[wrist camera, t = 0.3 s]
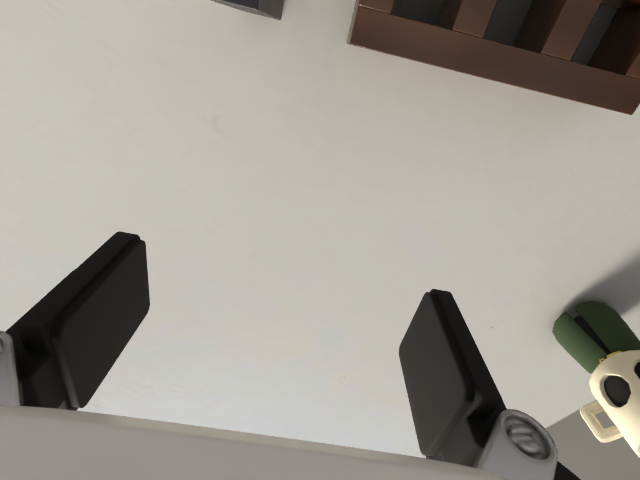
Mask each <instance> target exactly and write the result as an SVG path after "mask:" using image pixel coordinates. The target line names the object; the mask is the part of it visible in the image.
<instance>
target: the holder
mask: <svg viewBox="0 0 640 480" xmlns="http://www.w3.org/2000/svg"><path fill="white" fill-rule="evenodd" d="M497 1H498V0H445V1H444V4H443V7H442V10H441V13H440V16H439V19H438V22H437V25H436V26H434V25H430V24H427V23H423V22H419V21H415V20H411V19H408V18H404V17H400V16H396V15H392V14H391V12H392V8H393V4H394V0H356V3H355V8H354V12H353V17H352V21H351V26H350V30H349V35H348V39H347V44H350V45H354V46H358V47H362V48H366V49H370V50H374V51H378V52H382V53H386V54H390V55H394V56H398V57H402V58H406V59H410V60H414V61H418V62H422V63H426V64H430V65H434V66H438V67H442V68H446V69H450V70H454V71H458V72H462V73H466V74H470V75H474V76H478V77H482V78H486V79H490V80H494V81H498V82H502V83H506V84H510V85H513V86H517V87H521V88H525V89H529V90H533V91H537V92H541V93H545V94H549V95H553V96H557V97H561V98H565V99H569V100H573V101H577V102H581V103H585V104H589V105H593V106H597V107H601V108H605V109H609V110H613V111H617V112H621V113H625V114H629V115H632V114H633V113H634V111H635V110H636V108H637V107H638V105H639V104H640V0H534V1H533V3H532V6H531V8H530V10H529V12H528V15H527V17H526V19H525V21H524V24H523V26H522V28H521V30H520V33H519V35H518V37H517V39H516V42H515V44H514V46H510V45H507V44H503V43H499V42H495V41H491V40H488V39H484V38H482V37H483V36H484V33H485V31H486V28H487V26H488V23H489V21H490V18H491V16H492V13H493V11H494V8H495V6H496V3H497ZM600 4H603V5H607V6H610V7H614V8H617V9H619V10H618V11H617V13H616V15H615V17H614V19H613V20H612V22H611V24H610V26H609V28H608V29H607V31H606V33H605V35H604V37H603V38H602V40H601V42H600V44H599V46H598V47H597V49H596V51H595V53H594V55H593V56H592V58H591V60H590V62H589V63H588V65H583V64H579V63H575V62H571V61H570V60H571V58H572V56H573V55H574V53H575V51H576V49H577V47H578V45H579V43H580V41H581V39H582V38H583V36H584V34H585V32H586V30H587V28H588V26H589V24H590V22H591V21H592V19H593V17H594V15H595V13H596V11H597V9H598V7H599V6H600Z"/></svg>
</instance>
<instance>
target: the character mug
mask: <svg viewBox="0 0 640 480" xmlns="http://www.w3.org/2000/svg"><path fill="white" fill-rule="evenodd" d="M575 309H576V310H577V311H578V312H579V313H580V315H578V316H576V317H575V318H572V317H571V316H570V315H569V314H568V313H567V312H564V313H563V314H562V315H561V316H560V317H559V318H558V319H557V320H556V321H555V324H554V328H553V333H554V335H555V337H556V339H557V341H558V342H559V343H560V344H561V345H562V346H563V347H564V349H565V350H566V351H567V352H568V353H569V354H570V355H571V356H572V357H573V358H574V359H575V360H576V361H577V362H578V363H579V364H580V365H581V366H582V367H583V368H584V369H586V370H587V371H588V372H589V373H591V374H592V375H591V378H590V381H589V383H590V388H591V391H592V393H593V395H594V397H595V399H596V401H594V402H591V403H589V404H587V405H584V406H583V407H582V408H581V409H580V413H581V416H582V417H583V419H584V420H585V422H586V423H587V425H588V426H589V428H590V429H591V431H592V432H593V434H594V435H595V437H596V438H597V439H598V440H599V441H600V442H610V441H613V440H615V439H618V438H621V437H624V438H625V439H626V440H627V442H628V443H629V445H630V446H631V447H632V449H633V450H634V451H635V453H636V454H637V455H638V456H639V457H640V341H639V339H638V338H637V337H636V336H635V334H634V333H633V332H632V330H631V329H630V328H629V326H628V325H627V324H626V323H625V321H624V320H623V319H622V318H621V317H620V315H619V314H618V313H617V312H616V311H615V310H614V309H612V308H611V307H609V306H608V305H606V304H605V303H595V302H590V303H585V304H581V305H577V306H575ZM602 411H605V412H606V413H607V415H608V416H609V418H610V419H611V420H612V422H613V423H614V424H615V425H614V426H611V427H609V428H606V429H604V428H603V427H602V425H601V424H600V423H599V421H598V420H597V419H596V417H595V414H598V413H600V412H602Z"/></svg>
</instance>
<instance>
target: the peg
mask: <svg viewBox="0 0 640 480" xmlns="http://www.w3.org/2000/svg"><path fill="white" fill-rule="evenodd" d="M212 1H215V2H218V3H221V4H224V5H227V6H230V7H233V8H236V9H239V10H243V11H246V12H250V13H254V14H258V15H262V16H266V17H270V18H274V19H278V20H281V16H282V9H283V1H284V0H212Z"/></svg>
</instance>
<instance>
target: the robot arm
mask: <svg viewBox="0 0 640 480" xmlns="http://www.w3.org/2000/svg"><path fill="white" fill-rule="evenodd" d="M149 306H150V299H149V286H148V272H147V258H146V245H145V242H144V241H143V240H140V237H139V236H138V235H136V234H130V233H125V232H117V233H115V234H114V235H113V236H112V237H111V238H110V239H109V240H108V241H106V242H105V243H104V244H103V245H102V246H101V247H100V248H99V249H98V250H97V251H95V252H94V253H93V254H92V255H91V256H90V257H89V258H88V259H87V260H86V261H84V262H83V263H82V264H81V265H80V266H79V267H78V268H77V269H75V270H74V271H72V272H71V273H70V274H69V275H68V276H67V277H66V278H64V279H63V280H62V281H61V282H60V283H59V284H58V285H57V286H56V287H55V288H53V289H52V290H51V291H50V292H49V293H48V294H47V295H46V296H45V297H43V298H42V299H41V300H40V301H39V302H38V303H37V304H36V305H35V306H34V307H32V308H31V309H30V310H29V311H28V312H27V313H26V314H25V315H24V316H22V317H21V318H20V319H19V320H18V321H17V322H16V323H15V324H14V325H13V326H11V327H10V328H9V329H8V330H7V331H6V332H4V331H0V480H580V479H579V478H578V477H577V476H576V475H574V474H573V473H572V472H570V471H569V470H568V469H567V468H566V467H565V466H563V465H562V464H561V463H559V462H558V461H557V459H558V453H557V452H558V451H557V448H556V445H555V443H554V441H553V439H552V438H551V436H550V434H549V433H548V432H547V431H546V429H545V428H544V427H543V426H542V425H541V424H540V423H539V422H537V421H536V420H535V419H534V418H532V417H531V416H529V415H527V414H526V413H524V412H521V411H518V410H513V409H506V407H505V405H504V402H503V400H502V398H501V396H500V393H499V391H498V389H497V387H496V385H495V383H494V381H493V379H492V377H491V375H490V373H489V371H488V369H487V366H486V364H485V362H484V360H483V358H482V356H481V354H480V352H479V350H478V348H477V346H476V344H475V341H474V339H473V337H472V335H471V333H470V331H469V329H468V327H467V325H466V323H465V321H464V319H463V316H462V314H461V312H460V310H459V308H458V306H457V304H456V302H455V300H454V298H453V296H452V294H451V293H450V292H448V291H442V290H437V289H432V290H431V291H430V293H429V292H426V293H425V294H424V296H423V298H422V300H421V302H420V305H419V307H418V309H417V311H416V313H415V315H414V317H413V319H412V321H411V323H410V325H409V328H408V330H407V332H406V334H405V336H404V338H403V340H402V342H401V344H400V348H399V357H400V362H401V366H402V371H403V375H404V380H405V384H406V389H407V393H408V398H409V402H410V407H411V411H412V416H413V420H414V425H415V429H416V434H417V439H418V443H419V448H420V451H421V453H422V454H423V455H426V459H425V458H419V457H413V456H407V455H401V454H394V453H387V452H380V451H373V450H366V449H359V448H352V447H345V446H338V445H331V444H324V443H317V442H310V441H303V440H296V439H288V438H281V437H274V436H267V435H259V434H252V433H245V432H237V431H230V430H223V429H216V428H208V427H201V426H193V425H186V424H178V423H170V422H163V421H155V420H148V419H140V418H133V417H125V416H117V415H109V414H100V413H91V412H83V411H77V409H78V408H83V407H84V406H86V405H87V403H88V402H89V400H90V399H91V397H92V396H93V394H94V393H95V391H96V390H97V388H98V387H99V385H100V384H101V382H102V381H103V379H104V378H105V376H106V375H107V373H108V372H109V370H110V369H111V367H112V366H113V364H114V363H115V361H116V360H117V358H118V357H119V355H120V354H121V352H122V351H123V349H124V348H125V346H126V345H127V343H128V342H129V340H130V339H131V337H132V336H133V334H134V333H135V331H136V330H137V328H138V327H139V325H140V324H141V322H142V321H143V319H144V318H145V316H146V314H147V313H148V310H149Z"/></svg>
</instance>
